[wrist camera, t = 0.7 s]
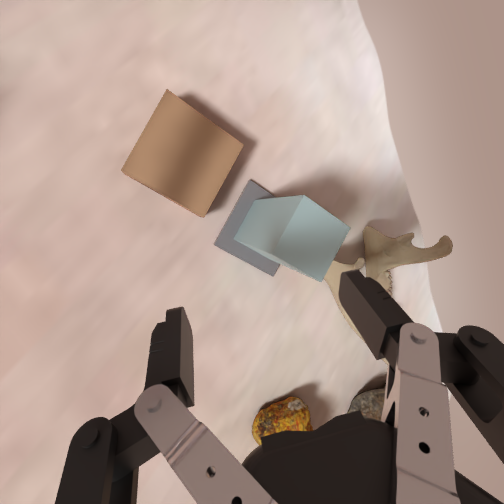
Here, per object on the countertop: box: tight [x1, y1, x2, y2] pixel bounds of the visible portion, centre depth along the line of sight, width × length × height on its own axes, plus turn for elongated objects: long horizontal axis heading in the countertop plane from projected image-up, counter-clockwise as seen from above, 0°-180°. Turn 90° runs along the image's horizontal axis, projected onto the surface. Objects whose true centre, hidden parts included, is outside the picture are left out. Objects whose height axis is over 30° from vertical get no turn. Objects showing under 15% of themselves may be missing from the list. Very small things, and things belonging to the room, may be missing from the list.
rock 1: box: [252, 397, 313, 446], centre depth 38 cm, size 11×8×10 cm
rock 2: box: [348, 385, 386, 421], centre depth 43 cm, size 17×7×10 cm
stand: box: [121, 89, 244, 217], centre depth 29 cm, size 9×9×3 cm
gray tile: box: [214, 180, 280, 276], centre depth 34 cm, size 9×9×1 cm
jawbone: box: [324, 226, 453, 365], centre depth 36 cm, size 25×10×14 cm, turn 24°
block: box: [234, 195, 350, 282], centre depth 28 cm, size 6×6×12 cm
